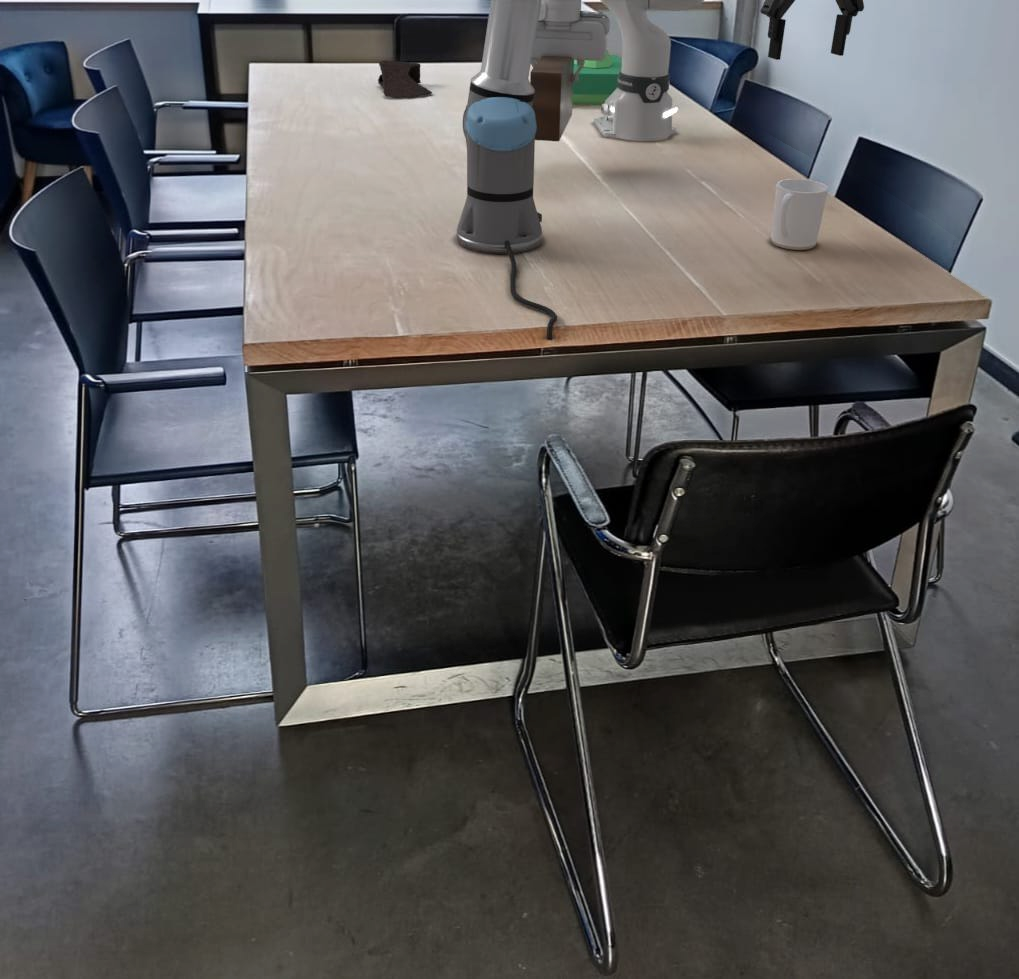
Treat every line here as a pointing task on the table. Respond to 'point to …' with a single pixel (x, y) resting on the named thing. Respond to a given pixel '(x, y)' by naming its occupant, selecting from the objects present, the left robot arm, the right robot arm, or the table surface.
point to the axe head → (401, 79)
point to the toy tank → (596, 80)
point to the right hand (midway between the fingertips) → (556, 81)
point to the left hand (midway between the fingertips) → (805, 56)
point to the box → (552, 96)
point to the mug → (798, 213)
